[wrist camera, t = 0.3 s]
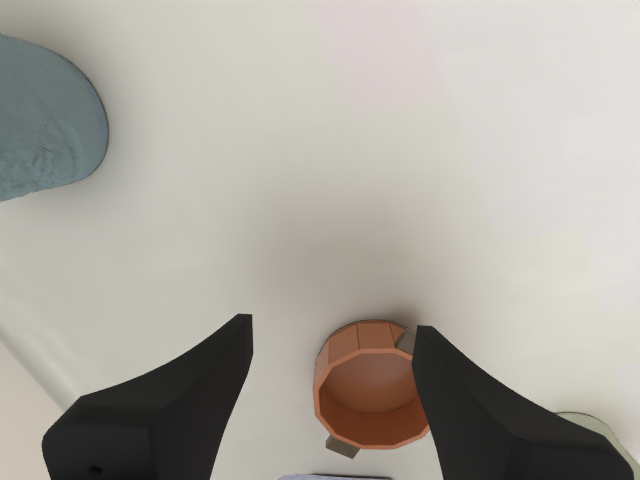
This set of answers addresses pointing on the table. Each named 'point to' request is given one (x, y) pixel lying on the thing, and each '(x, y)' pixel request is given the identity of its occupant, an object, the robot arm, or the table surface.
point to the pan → (368, 388)
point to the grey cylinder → (45, 120)
